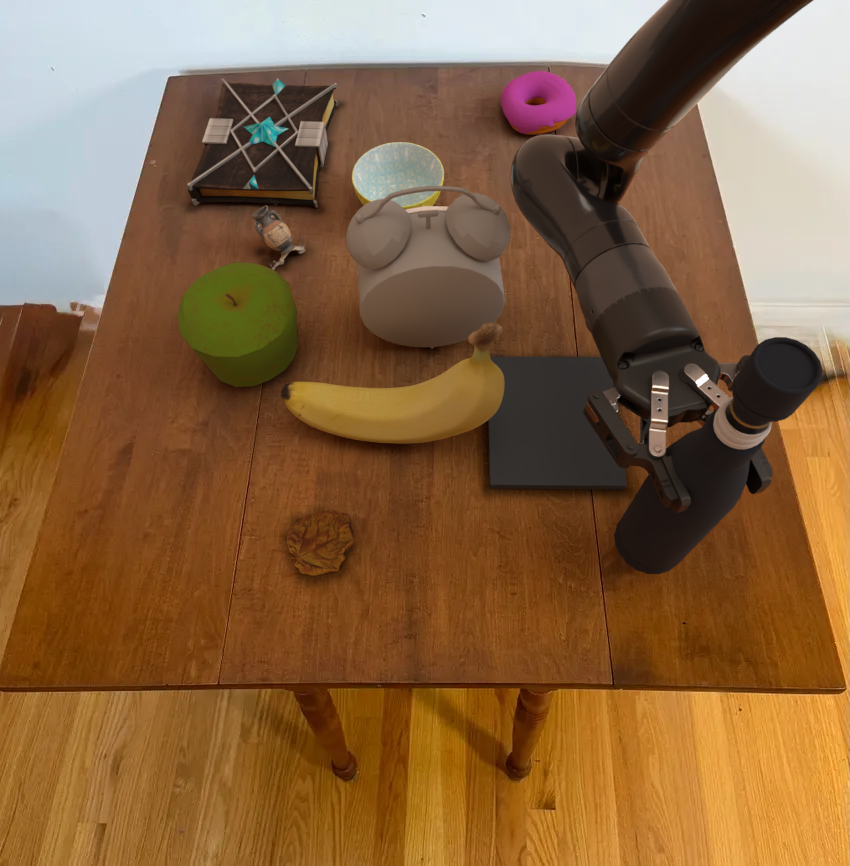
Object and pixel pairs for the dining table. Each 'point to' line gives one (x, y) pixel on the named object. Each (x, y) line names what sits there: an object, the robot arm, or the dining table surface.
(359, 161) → the bowl
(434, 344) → the alarm clock
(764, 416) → the insulated water bottle
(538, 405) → the mat
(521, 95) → the donut
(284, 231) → the vase
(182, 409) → the dining table surface
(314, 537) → the leaf
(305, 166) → the book
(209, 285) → the apple
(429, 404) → the banana
